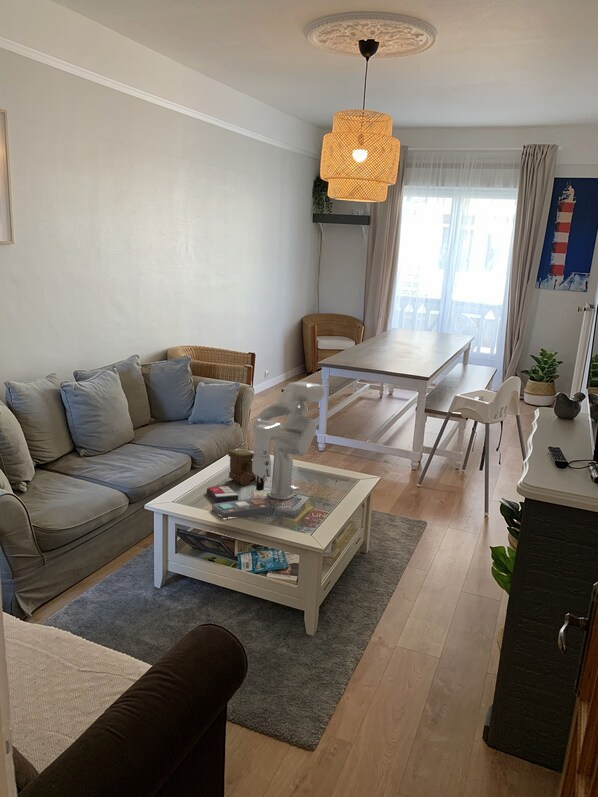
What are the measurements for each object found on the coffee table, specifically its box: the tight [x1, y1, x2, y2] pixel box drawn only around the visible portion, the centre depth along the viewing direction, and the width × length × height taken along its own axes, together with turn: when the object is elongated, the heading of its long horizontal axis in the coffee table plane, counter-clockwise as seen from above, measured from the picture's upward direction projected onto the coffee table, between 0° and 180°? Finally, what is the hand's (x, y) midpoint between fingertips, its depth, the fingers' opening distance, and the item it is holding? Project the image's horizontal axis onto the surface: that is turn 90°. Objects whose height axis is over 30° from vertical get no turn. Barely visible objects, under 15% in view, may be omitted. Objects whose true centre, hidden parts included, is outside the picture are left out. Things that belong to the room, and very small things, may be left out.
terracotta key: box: [250, 498, 266, 506], centre depth 284 cm, size 5×5×2 cm
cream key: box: [235, 501, 250, 508], centre depth 280 cm, size 5×5×2 cm
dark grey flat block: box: [211, 497, 273, 519], centre depth 280 cm, size 24×12×3 cm, turn 123°
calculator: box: [206, 485, 239, 504], centre depth 295 cm, size 11×4×15 cm
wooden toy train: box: [227, 448, 256, 486], centre depth 321 cm, size 20×11×17 cm, turn 130°
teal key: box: [219, 504, 234, 511], centre depth 276 cm, size 5×5×2 cm
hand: (259, 489), depth 284 cm, fingers closed
